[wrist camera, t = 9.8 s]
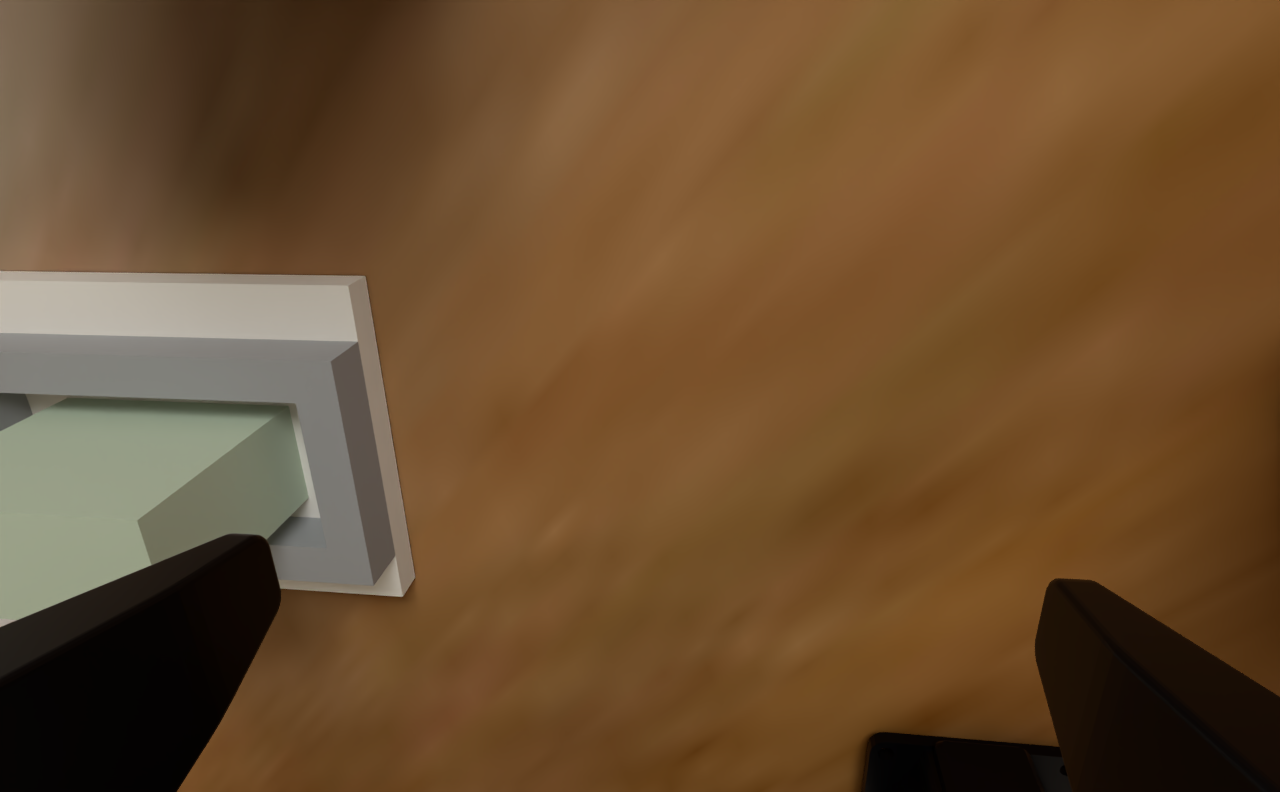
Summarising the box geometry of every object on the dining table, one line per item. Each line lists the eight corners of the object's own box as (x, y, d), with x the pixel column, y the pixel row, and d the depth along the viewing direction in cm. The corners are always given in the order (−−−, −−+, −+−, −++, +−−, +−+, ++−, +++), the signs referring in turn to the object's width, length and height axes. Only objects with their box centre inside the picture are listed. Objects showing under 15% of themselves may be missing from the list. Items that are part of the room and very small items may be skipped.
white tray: (415, 577, 25) (382, 629, 23) (82, 556, 27) (20, 602, 24) (365, 275, 21) (319, 301, 19) (-22, 270, 23) (-107, 294, 21)
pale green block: (97, 486, 24) (-93, 611, 19) (67, 397, 23) (-146, 503, 18) (308, 497, 23) (173, 632, 18) (288, 406, 22) (136, 520, 17)
